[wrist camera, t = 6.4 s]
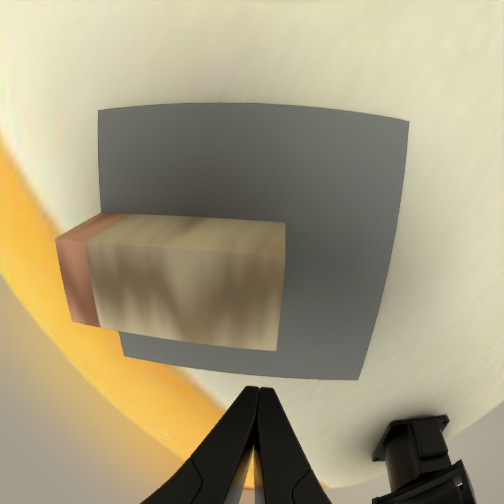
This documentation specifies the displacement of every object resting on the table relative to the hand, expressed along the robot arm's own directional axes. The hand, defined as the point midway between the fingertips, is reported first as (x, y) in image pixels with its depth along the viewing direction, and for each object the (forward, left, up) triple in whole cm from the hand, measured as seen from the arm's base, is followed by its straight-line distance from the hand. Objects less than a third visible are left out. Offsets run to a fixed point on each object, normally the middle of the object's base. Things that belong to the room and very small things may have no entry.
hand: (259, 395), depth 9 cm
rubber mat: (0, +2, -11) cm, 11 cm away
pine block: (0, -1, -8) cm, 8 cm away
